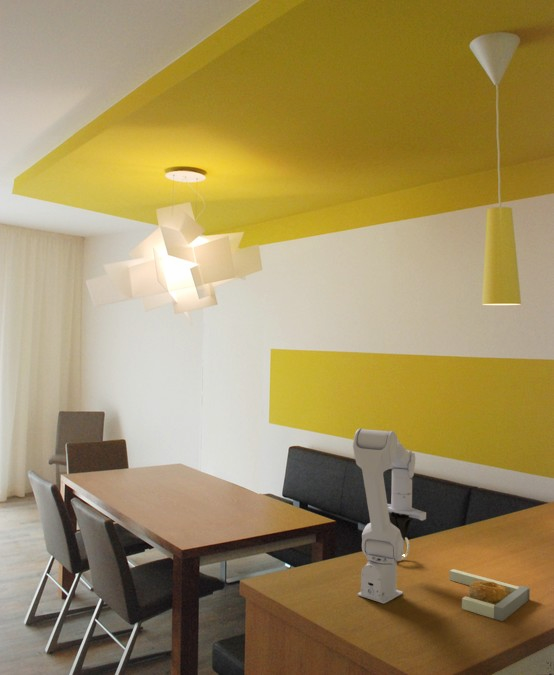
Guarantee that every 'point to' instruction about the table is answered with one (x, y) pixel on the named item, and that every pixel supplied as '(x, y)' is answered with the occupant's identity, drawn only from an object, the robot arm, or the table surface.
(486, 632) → the table surface
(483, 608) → the guide
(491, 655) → the table surface
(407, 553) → the ring
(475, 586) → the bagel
